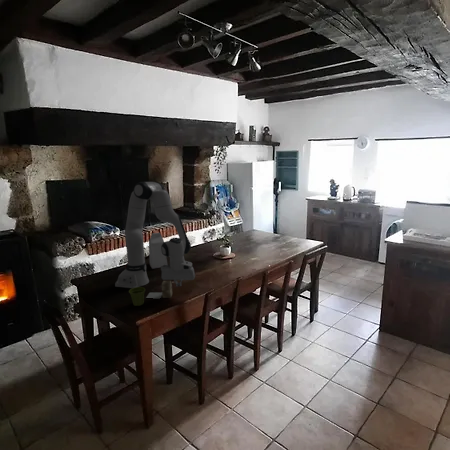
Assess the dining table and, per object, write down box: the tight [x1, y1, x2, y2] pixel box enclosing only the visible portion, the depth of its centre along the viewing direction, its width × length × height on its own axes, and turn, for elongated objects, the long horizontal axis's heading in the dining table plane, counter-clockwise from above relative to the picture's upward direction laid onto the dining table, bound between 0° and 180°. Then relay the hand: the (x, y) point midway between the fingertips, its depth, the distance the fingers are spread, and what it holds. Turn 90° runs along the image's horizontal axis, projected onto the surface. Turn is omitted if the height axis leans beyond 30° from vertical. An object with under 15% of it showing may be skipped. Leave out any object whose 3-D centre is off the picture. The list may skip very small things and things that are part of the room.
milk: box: [148, 232, 169, 270], centre depth 254 cm, size 12×12×26 cm
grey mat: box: [145, 292, 163, 300], centre depth 203 cm, size 9×8×1 cm
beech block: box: [161, 280, 173, 299], centre depth 202 cm, size 5×5×9 cm
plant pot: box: [128, 286, 146, 307], centre depth 193 cm, size 9×9×9 cm
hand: (178, 285), depth 201 cm, fingers closed
